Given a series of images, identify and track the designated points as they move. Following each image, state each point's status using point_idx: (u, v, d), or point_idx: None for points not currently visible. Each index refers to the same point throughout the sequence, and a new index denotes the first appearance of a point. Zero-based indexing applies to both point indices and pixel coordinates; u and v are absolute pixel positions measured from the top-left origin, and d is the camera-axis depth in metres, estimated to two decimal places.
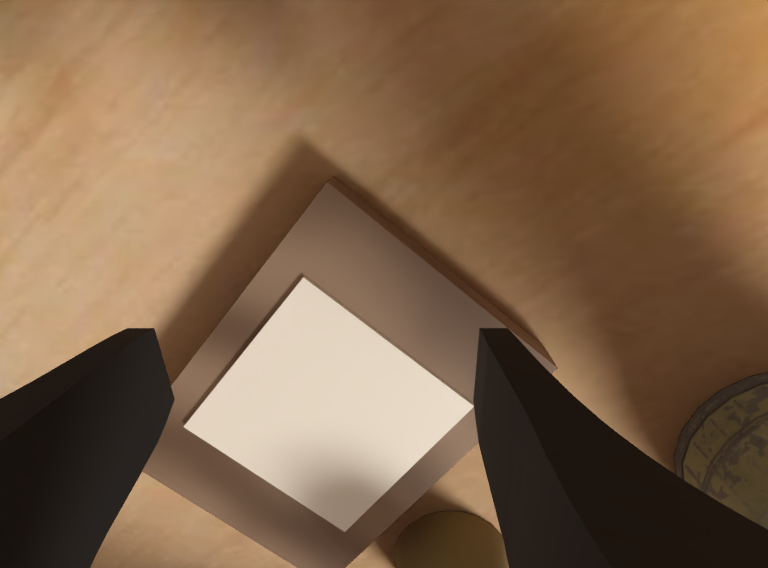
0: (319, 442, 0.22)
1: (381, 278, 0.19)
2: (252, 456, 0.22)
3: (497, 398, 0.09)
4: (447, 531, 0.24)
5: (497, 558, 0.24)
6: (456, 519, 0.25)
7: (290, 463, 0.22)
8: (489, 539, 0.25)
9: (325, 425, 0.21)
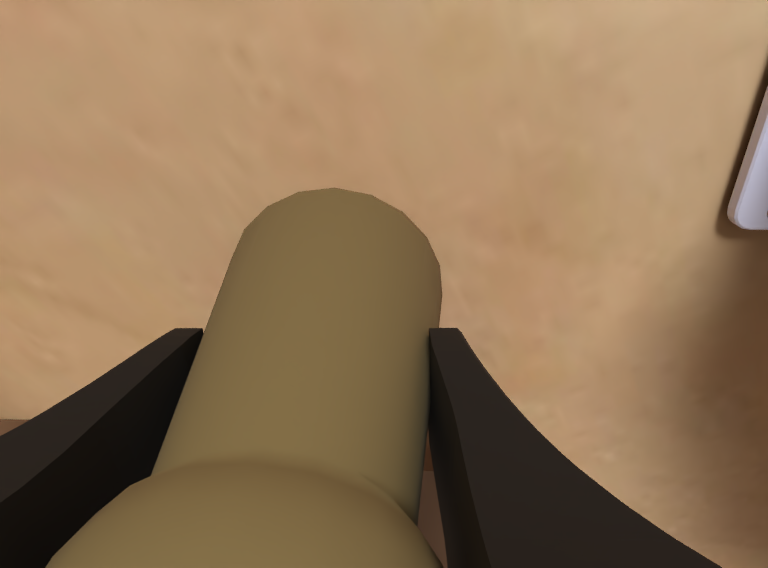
0: None
1: None
2: None
3: (438, 398, 0.09)
4: None
5: None
6: None
7: None
8: None
9: None
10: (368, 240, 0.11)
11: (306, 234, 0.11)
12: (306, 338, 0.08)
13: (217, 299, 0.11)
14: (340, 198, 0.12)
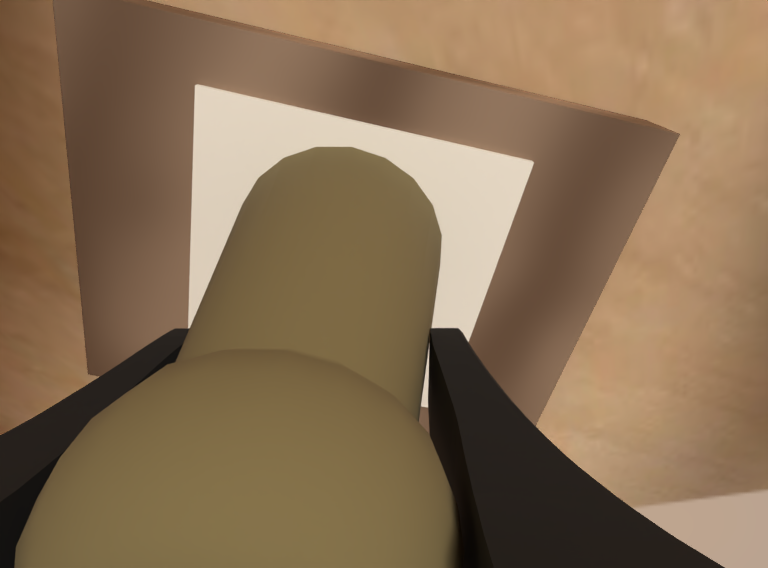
0: None
1: (131, 288, 0.15)
2: None
3: (439, 398, 0.09)
4: None
5: None
6: None
7: (437, 287, 0.15)
8: None
9: None
10: (383, 195, 0.11)
11: (325, 183, 0.11)
12: (328, 267, 0.08)
13: (231, 236, 0.11)
14: (357, 156, 0.13)
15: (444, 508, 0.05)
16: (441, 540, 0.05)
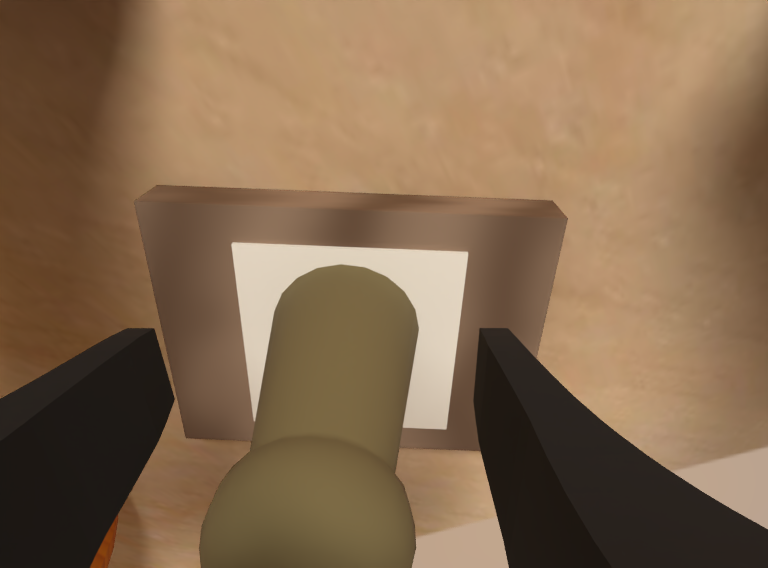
0: None
1: (207, 375, 0.22)
2: (437, 374, 0.21)
3: (497, 399, 0.09)
4: None
5: None
6: None
7: (420, 344, 0.21)
8: None
9: None
10: (363, 303, 0.17)
11: (324, 302, 0.17)
12: (329, 372, 0.14)
13: (270, 345, 0.17)
14: (344, 272, 0.18)
15: (392, 505, 0.11)
16: (391, 521, 0.11)
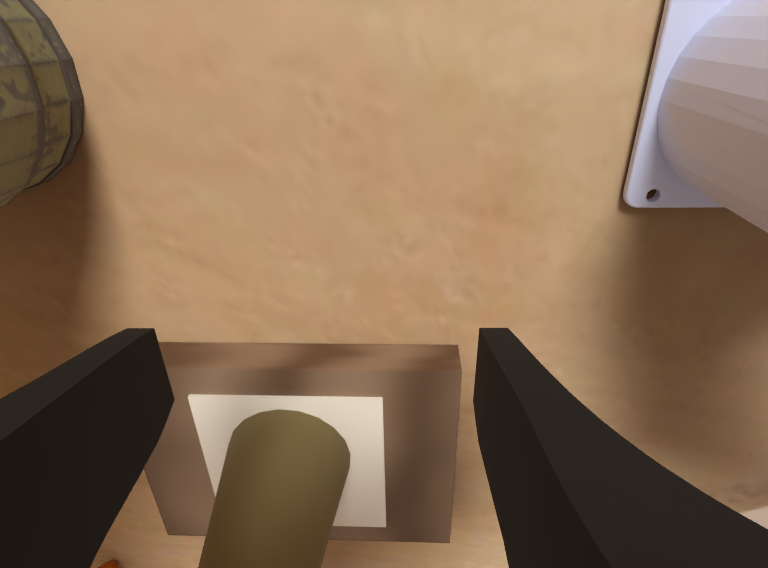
0: None
1: (181, 489, 0.26)
2: (371, 486, 0.25)
3: (497, 398, 0.09)
4: None
5: None
6: None
7: (353, 465, 0.24)
8: None
9: None
10: (291, 452, 0.21)
11: (259, 453, 0.21)
12: (251, 531, 0.18)
13: (218, 486, 0.21)
14: (280, 418, 0.22)
15: None
16: None
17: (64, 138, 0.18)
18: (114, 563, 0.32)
